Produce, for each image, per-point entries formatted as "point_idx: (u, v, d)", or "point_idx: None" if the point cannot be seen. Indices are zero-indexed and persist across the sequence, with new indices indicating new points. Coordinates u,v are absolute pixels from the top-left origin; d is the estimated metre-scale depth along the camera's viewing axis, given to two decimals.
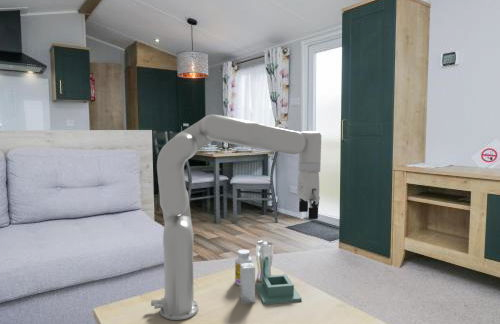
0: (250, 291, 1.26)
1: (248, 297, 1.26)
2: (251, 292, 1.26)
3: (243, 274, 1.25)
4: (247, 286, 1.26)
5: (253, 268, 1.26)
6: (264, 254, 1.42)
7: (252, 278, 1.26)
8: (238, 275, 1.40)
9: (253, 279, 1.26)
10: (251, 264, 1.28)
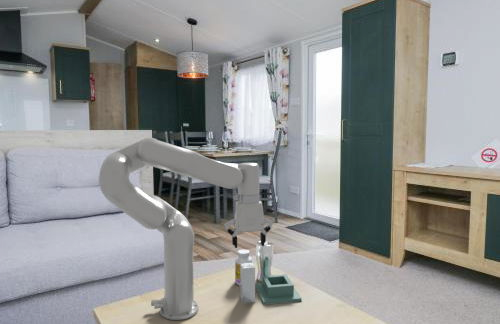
0: (250, 291, 1.26)
1: (248, 297, 1.26)
2: (251, 292, 1.26)
3: (243, 274, 1.25)
4: (247, 286, 1.26)
5: (253, 268, 1.26)
6: (264, 254, 1.42)
7: (252, 278, 1.26)
8: (238, 275, 1.40)
9: (253, 279, 1.26)
10: (251, 264, 1.28)
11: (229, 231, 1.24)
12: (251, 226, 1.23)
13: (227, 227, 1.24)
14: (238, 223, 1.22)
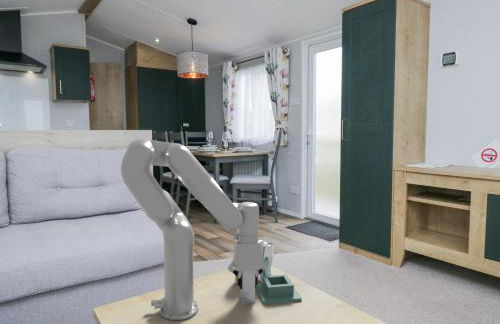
0: (250, 291, 1.26)
1: (248, 297, 1.26)
2: (251, 292, 1.26)
3: (243, 274, 1.25)
4: (247, 286, 1.26)
5: None
6: (264, 254, 1.42)
7: (252, 278, 1.26)
8: None
9: (253, 279, 1.26)
10: None
11: (234, 272, 1.26)
12: (250, 265, 1.25)
13: (231, 270, 1.26)
14: (237, 262, 1.24)
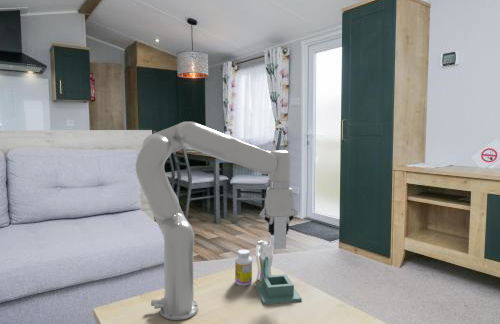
0: (281, 237, 1.29)
1: (279, 243, 1.29)
2: (282, 238, 1.29)
3: (275, 220, 1.28)
4: (279, 232, 1.29)
5: None
6: (264, 254, 1.42)
7: (283, 224, 1.29)
8: (238, 275, 1.40)
9: (284, 225, 1.29)
10: None
11: (266, 219, 1.29)
12: (281, 211, 1.28)
13: (263, 216, 1.29)
14: (269, 208, 1.27)
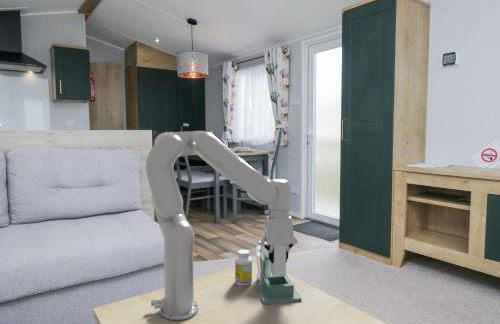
0: (281, 265, 1.31)
1: (279, 271, 1.31)
2: (282, 266, 1.31)
3: (275, 248, 1.29)
4: (278, 260, 1.30)
5: None
6: (264, 254, 1.42)
7: (283, 252, 1.30)
8: (238, 275, 1.40)
9: (284, 253, 1.30)
10: None
11: (266, 247, 1.30)
12: (281, 240, 1.29)
13: (263, 244, 1.30)
14: (269, 237, 1.28)
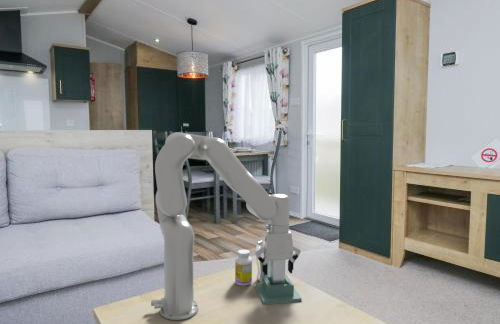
0: (280, 282, 1.31)
1: None
2: (281, 283, 1.31)
3: (274, 265, 1.30)
4: (278, 277, 1.31)
5: (283, 260, 1.31)
6: None
7: (282, 270, 1.31)
8: (238, 275, 1.40)
9: (283, 270, 1.31)
10: None
11: (260, 259, 1.30)
12: (281, 255, 1.30)
13: (258, 256, 1.30)
14: (269, 252, 1.29)
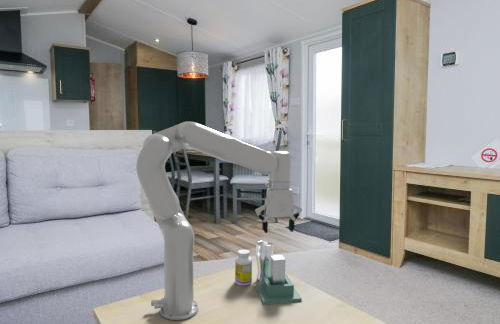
0: (280, 282, 1.31)
1: None
2: (281, 283, 1.31)
3: (274, 265, 1.30)
4: (278, 277, 1.31)
5: (283, 260, 1.31)
6: (264, 254, 1.42)
7: (282, 270, 1.31)
8: (238, 275, 1.40)
9: (283, 270, 1.31)
10: (281, 256, 1.33)
11: (260, 216, 1.28)
12: (281, 212, 1.28)
13: (258, 213, 1.28)
14: (269, 209, 1.27)
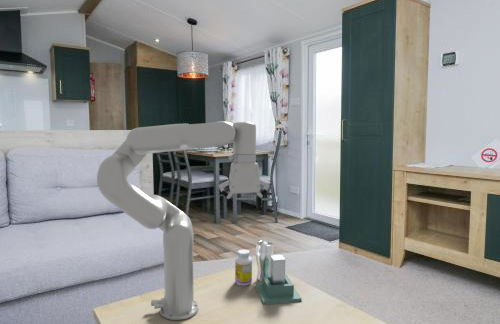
0: (280, 282, 1.31)
1: None
2: (281, 283, 1.31)
3: (274, 265, 1.30)
4: (278, 277, 1.31)
5: (283, 260, 1.31)
6: (264, 254, 1.42)
7: (282, 270, 1.31)
8: (238, 275, 1.40)
9: (283, 270, 1.31)
10: (281, 256, 1.33)
11: (223, 192, 1.19)
12: (246, 187, 1.18)
13: (222, 189, 1.19)
14: (233, 184, 1.17)
